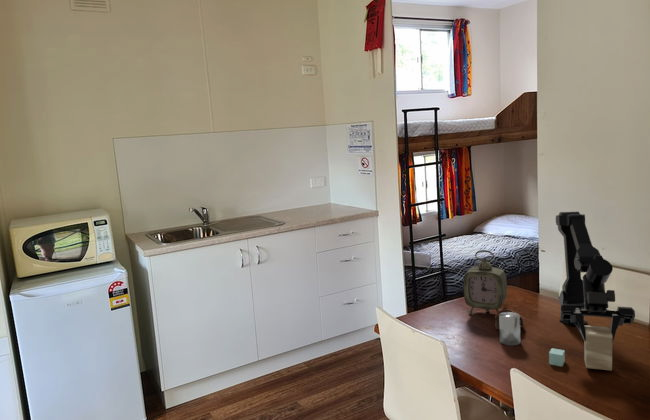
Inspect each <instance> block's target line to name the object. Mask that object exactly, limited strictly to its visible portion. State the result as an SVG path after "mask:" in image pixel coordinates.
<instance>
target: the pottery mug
mask: <svg viewBox="0 0 650 420" xmlns="http://www.w3.org/2000/svg"><path fill="white" fill-rule="evenodd" d="M498 311H499V312H498V313H496V314H495V316H494V319H495V323H494V326H495V329H496V330H497V331H498V330H500V329H499V318H498V317H499V314H500V313H503V312H513V313H517V314H519V313H518V312H517V311H514V309H511V308H507V307H504V308H502V309H501V310H498ZM525 326H526V325H525V323H524V321H523V318H522V316H521V315H520V327H522V329H523V331H526V327H525Z"/></svg>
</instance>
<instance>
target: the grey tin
mask: <svg viewBox="0 0 650 420" xmlns="http://www.w3.org/2000/svg"><path fill="white" fill-rule="evenodd" d="M517 313H518V312H516V313H513V312H503V313H500V314H499V318H498V321H499V329H498V330H499V342H500V344H503V345H505V346H518V345H520V344H521V342H522V341H521V326H520V316H521V315H520V314H519V313H518V314H517Z"/></svg>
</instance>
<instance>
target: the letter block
mask: <svg viewBox="0 0 650 420" xmlns="http://www.w3.org/2000/svg"><path fill="white" fill-rule="evenodd" d="M565 353H566V352H565V350H564V349H558V348H553V347H552V348H551V349H550V350H549V351H548V365H550V366H551V365H552V366H557V367H564V364H565V362H566V361H565V360H566V359H565V358H566V357H565V356H566V354H565Z"/></svg>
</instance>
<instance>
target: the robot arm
mask: <svg viewBox="0 0 650 420" xmlns="http://www.w3.org/2000/svg"><path fill="white" fill-rule="evenodd" d="M555 225H556V226H557V229H558V232H559V233H560V234H561V235H562V237H563V245H564V258H565V259H564V260H565V274H566V278H565V281H564V282H563V284H562V285H561V289H562V290H561V291H560V293H559V296H558V304H559V305H560V311H559V312H560V313H559V314H560V315H559V316H560V319H559V322H561V323H563V324H567V325H568V326H570V327H576V328H577V330H578V332H579V333H580V335H581V336H582V339H583V341H586V333H585V328H584V325H587V324H588V323H589V321H586V320H585V317H600V318H611V322H610V330H611V332H612V344H613V343H614V340H615V336H616V332H617V330H618V327H621V326H623V325H624V324H628V325H630V324H633V322H634V321H635V318H636V311H635V309H634V308H633V307H631V306H630V307H629V306H628V307H627V306H617V308H616V310H608V308H609V303H614V302H616V292H615V290H614V289H612V290H611V289H608V290H606V286H605V283H607V281H608V279H609V277H610V276H611V274H612V272H613V265H612V264H611V262H609V260H607V259H605V258H603V255H602V254H601V253H600V251H599V249H597V248H596V247H595V246H593V244H592V240H591V236H590V234H589V232H588V228H587V226H586V215H585V214H584V213H583V214H582V213H580V211H560V212H559V213H558V214H557V215H555ZM582 273H585V274H584V275H583V276H581V275H582Z"/></svg>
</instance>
